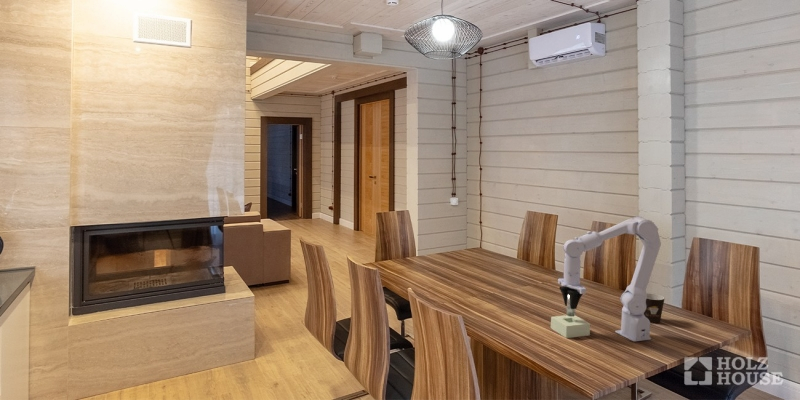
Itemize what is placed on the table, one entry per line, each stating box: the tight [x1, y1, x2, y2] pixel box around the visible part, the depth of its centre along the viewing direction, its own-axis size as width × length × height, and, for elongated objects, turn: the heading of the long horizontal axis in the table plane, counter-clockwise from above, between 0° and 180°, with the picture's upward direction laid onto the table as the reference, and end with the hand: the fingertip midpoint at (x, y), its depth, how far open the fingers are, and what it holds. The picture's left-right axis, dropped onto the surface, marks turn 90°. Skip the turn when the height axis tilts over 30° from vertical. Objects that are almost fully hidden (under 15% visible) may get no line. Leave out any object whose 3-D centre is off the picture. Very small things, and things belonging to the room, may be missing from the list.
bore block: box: [550, 314, 591, 339], centre depth 175 cm, size 10×10×4 cm
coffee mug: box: [644, 292, 666, 324], centre depth 187 cm, size 12×9×10 cm
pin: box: [565, 294, 576, 316], centre depth 174 cm, size 3×3×8 cm
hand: (570, 307), depth 174 cm, fingers closed on pin, 3 cm apart
